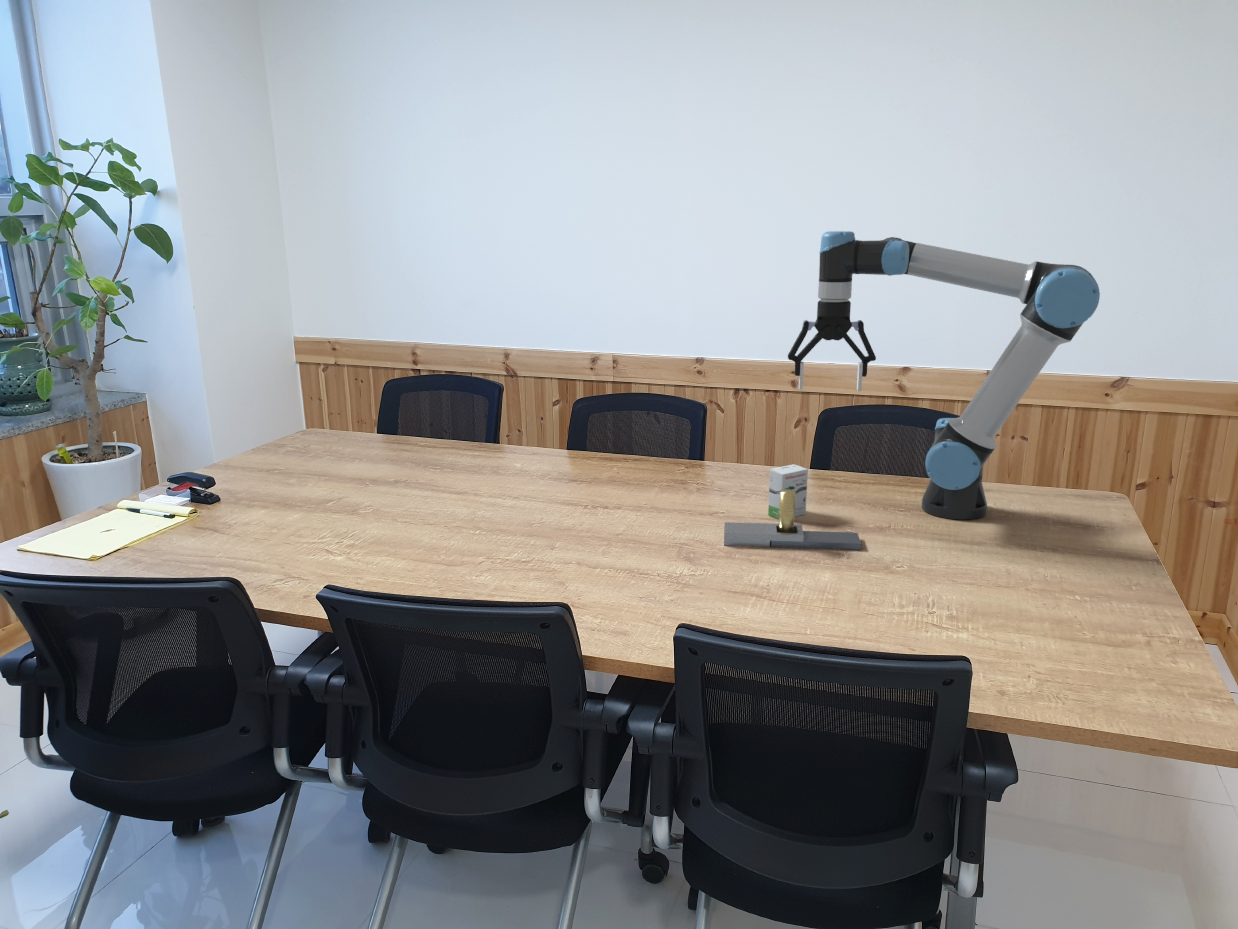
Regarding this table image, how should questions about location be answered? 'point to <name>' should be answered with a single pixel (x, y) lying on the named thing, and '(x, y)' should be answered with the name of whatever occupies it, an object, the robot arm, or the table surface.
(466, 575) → the table surface
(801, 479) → the ink box
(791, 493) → the pin
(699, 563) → the table surface
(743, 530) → the chain end grey
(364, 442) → the table surface
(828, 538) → the chain end dark
